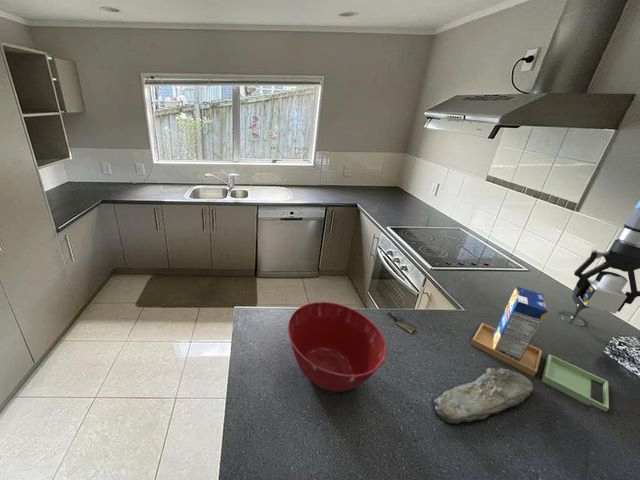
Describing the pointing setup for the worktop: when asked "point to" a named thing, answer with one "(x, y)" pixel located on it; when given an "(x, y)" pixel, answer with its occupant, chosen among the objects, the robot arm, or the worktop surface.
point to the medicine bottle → (604, 292)
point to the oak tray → (526, 364)
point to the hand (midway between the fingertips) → (596, 302)
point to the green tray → (573, 381)
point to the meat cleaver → (401, 323)
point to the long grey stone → (483, 396)
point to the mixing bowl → (335, 345)
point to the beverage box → (519, 323)
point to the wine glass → (579, 307)
